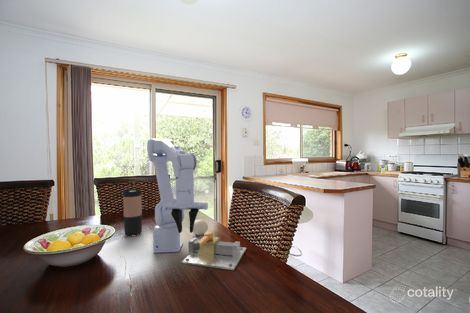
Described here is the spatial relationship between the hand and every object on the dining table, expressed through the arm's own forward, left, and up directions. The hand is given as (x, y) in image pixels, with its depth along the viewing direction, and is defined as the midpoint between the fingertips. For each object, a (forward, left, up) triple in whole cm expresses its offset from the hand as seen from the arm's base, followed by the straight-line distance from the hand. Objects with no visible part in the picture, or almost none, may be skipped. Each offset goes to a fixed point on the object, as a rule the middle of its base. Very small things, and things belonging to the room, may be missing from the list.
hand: (185, 231), depth 75 cm
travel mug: (-29, +32, -11) cm, 45 cm away
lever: (+5, +3, -5) cm, 8 cm away
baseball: (+2, +27, -11) cm, 29 cm away
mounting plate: (+9, +5, -10) cm, 15 cm away
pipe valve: (+9, +6, -10) cm, 15 cm away
